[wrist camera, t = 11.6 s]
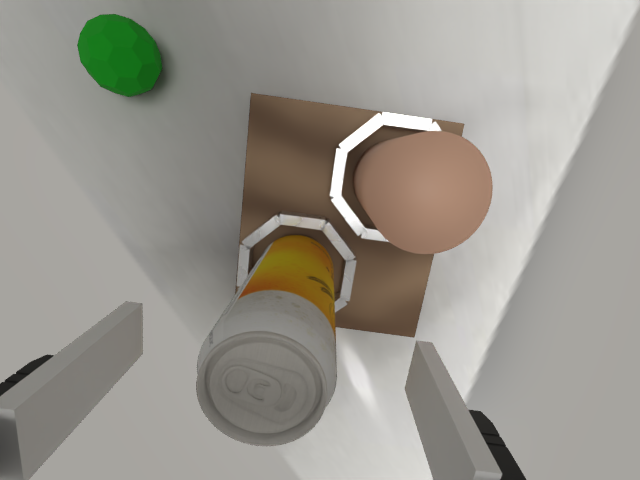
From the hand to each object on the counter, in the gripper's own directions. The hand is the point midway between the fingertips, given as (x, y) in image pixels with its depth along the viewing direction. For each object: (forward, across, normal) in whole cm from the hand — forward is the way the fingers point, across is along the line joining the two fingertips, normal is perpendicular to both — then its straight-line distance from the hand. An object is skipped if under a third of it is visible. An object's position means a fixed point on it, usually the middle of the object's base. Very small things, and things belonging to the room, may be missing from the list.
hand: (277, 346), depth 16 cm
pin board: (+14, +3, +4) cm, 15 cm away
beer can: (+12, 0, 0) cm, 12 cm away
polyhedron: (+14, -14, +14) cm, 24 cm away
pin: (+12, +6, +8) cm, 16 cm away
